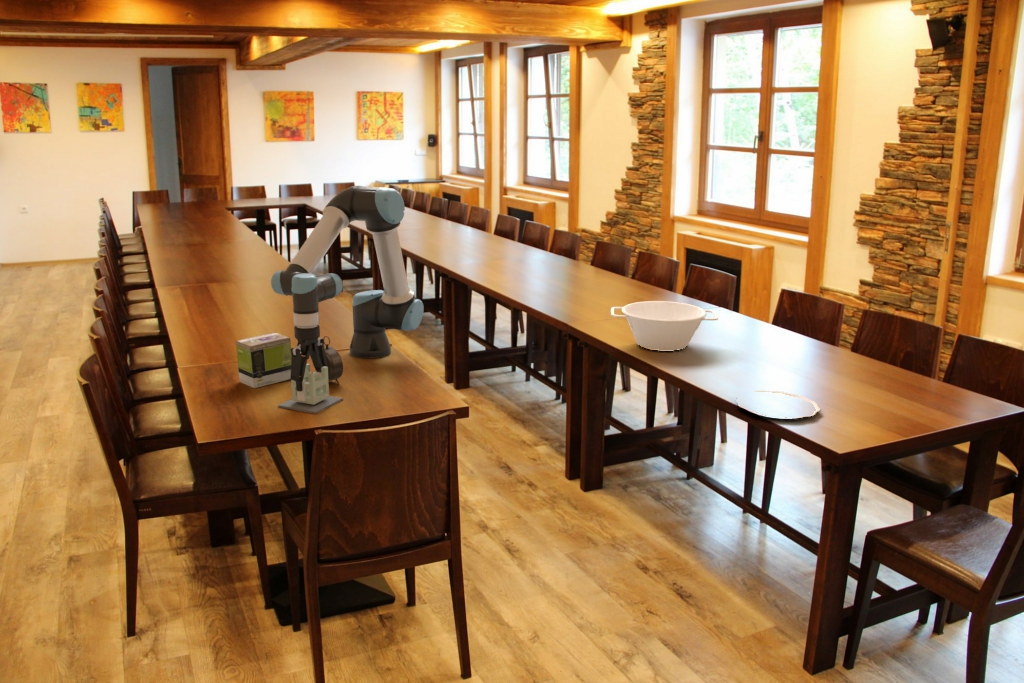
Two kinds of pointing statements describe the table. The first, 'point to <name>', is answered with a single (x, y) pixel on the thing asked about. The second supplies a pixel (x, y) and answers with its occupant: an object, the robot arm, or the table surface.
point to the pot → (663, 323)
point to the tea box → (264, 359)
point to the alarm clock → (333, 363)
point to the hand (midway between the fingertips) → (310, 396)
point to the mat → (311, 405)
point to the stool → (313, 386)
